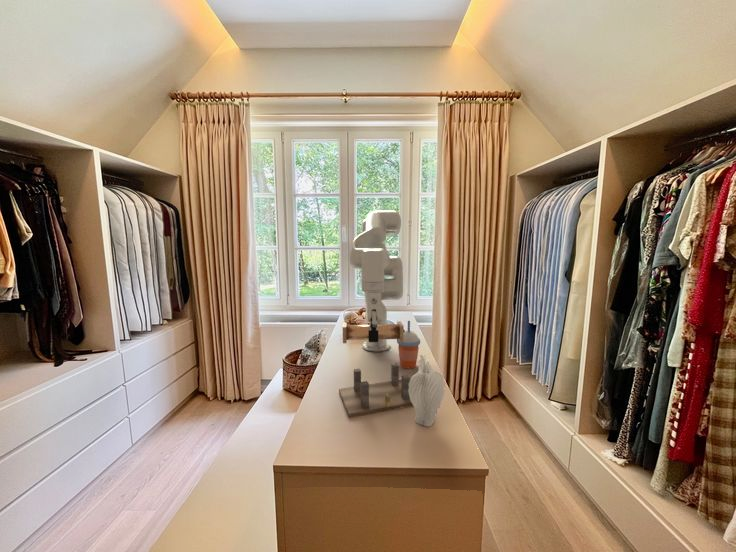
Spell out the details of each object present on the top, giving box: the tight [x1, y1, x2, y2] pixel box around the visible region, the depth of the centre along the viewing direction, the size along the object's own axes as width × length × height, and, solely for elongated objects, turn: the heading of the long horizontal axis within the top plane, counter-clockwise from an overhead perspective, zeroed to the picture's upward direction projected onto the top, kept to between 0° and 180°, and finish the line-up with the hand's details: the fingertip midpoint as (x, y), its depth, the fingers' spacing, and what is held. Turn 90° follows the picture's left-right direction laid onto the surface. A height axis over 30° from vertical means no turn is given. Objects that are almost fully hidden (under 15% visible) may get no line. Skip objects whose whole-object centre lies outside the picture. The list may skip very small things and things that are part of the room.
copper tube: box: [342, 321, 405, 344], centre depth 101 cm, size 20×6×6 cm, turn 93°
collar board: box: [338, 363, 414, 418], centre depth 93 cm, size 14×24×8 cm, turn 107°
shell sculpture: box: [408, 354, 446, 427], centre depth 80 cm, size 8×8×18 cm
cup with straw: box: [396, 320, 421, 369], centre depth 115 cm, size 9×9×18 cm
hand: (372, 338), depth 101 cm, fingers closed on copper tube, 5 cm apart
